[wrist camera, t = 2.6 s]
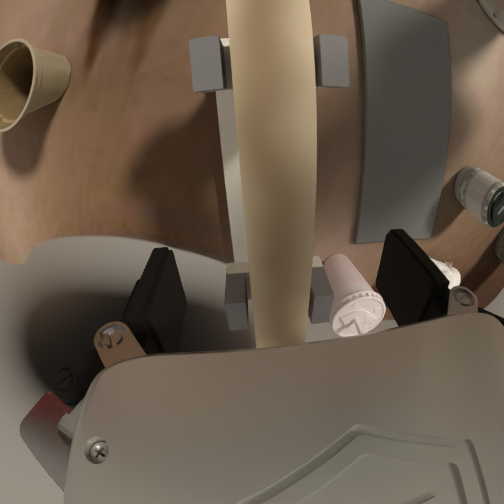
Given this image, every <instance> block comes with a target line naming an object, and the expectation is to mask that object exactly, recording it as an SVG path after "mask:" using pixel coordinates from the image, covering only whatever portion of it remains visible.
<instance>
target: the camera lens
mask: <svg viewBox="0 0 504 504" xmlns="http://www.w3.org/2000/svg"><path fill="white" fill-rule="evenodd" d="M454 185H455V186H454V192H455V196H456V198H457V199H458V200H459V202H460V203H461V204H462V205H463V206H464V208H466V209H467V210H468V211H469V212H471V213H472V214H473V215H474V216H476V217H477V218H478V219H479V220H480V221H482V222H483V223H484V224H485V225H486V226H488V227H491V228H493V227H497V226H499V225H500V224H501V223H502V222H503V221H504V183H503V182H502V181H500V180H498V179H497V178H495V177H494V176H492V175H490V174H489V173H487V172H485V171H484V170H482V169H479V168H477V167H472V166H467V167H464V168H463V169H462V170H461V171H460V172H459V173H458V176H457V178H456V181H455V184H454Z"/></svg>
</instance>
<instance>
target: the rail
mask: <svg viewBox="0 0 504 504" xmlns="http://www.w3.org/2000/svg"><path fill="white" fill-rule="evenodd" d="M226 7H227V20H228V32H229V44H230V57H231V69H232V81H233V93H234V105H235V116H236V128H237V140H238V151H239V163H240V174H241V185H242V197H243V208H244V219H245V230H246V241H247V252H248V263H249V273H250V284H251V295H252V306H253V316H254V326H255V337H256V348H263V347H274V346H283V345H292V344H300V343H305V335H306V326H307V318H308V309H309V299H310V288H311V276H312V263H313V249H314V232H315V211H316V181H317V110H316V81H315V63H314V48H313V35H312V24H311V14H310V5H309V0H226Z"/></svg>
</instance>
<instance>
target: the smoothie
mask: <svg viewBox="0 0 504 504" xmlns="http://www.w3.org/2000/svg"><path fill="white" fill-rule="evenodd" d="M323 267H324V270H325V272H326V275H327V277H328V280H329V282H330V285H331V288H332V290H333V293H334V299H333V304H332V310H331V315H330V321H329V322H330V324H331V326H332V330H333V331H334V332H335V333H336V334H337V335H339V336H342V337H348V336H354V335H359V334H365V333H367V332H369V331H370V330H372V329H373V328H374V327H376V326H377V325H378V324H379V323H380V321H381V320H382V319H383V317H384V314H385V311H386V307H385V304H384V302H383V299H382V297H381V296H380V295H379V294H378V293H376V292H374V291H373V289H372V288H371V287H370V286H369V284H368V283H367V282H366V280H365V279H364V278H363V277H362V275H361V274H360V273H359V271H358V270H357V269H356V268H355V266H354V265H353V264H352V263H351V261H350V260H349V259H348V258H347V256H345V255H343V254H334V255H332V256H330V257H329V258H327V259H326V261H325V262H324V264H323Z"/></svg>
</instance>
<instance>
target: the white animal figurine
mask: <svg viewBox="0 0 504 504" xmlns="http://www.w3.org/2000/svg"><path fill="white" fill-rule="evenodd" d="M429 258H430V257H429ZM430 259H431V260H432V261H433V262H434V263H435V264H436V266H437V267H438V268H439V269H440V270H441V271H442V273H443V274H444V275H445V276H446V277H447V279H448V280H449V281H450V284H449V286H448V288H449V289H450V290H451V288H452V287H454V286H459V284H460V273H459V272H458V270H457V269H456V268H454V267H451V266H452V265H453V264H452V263H450V264H448V263H449V262H447V264H444V263H443V262H440V261H437V260H434V259H432V258H430ZM445 263H446V261H445ZM451 264H452V265H451Z"/></svg>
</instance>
